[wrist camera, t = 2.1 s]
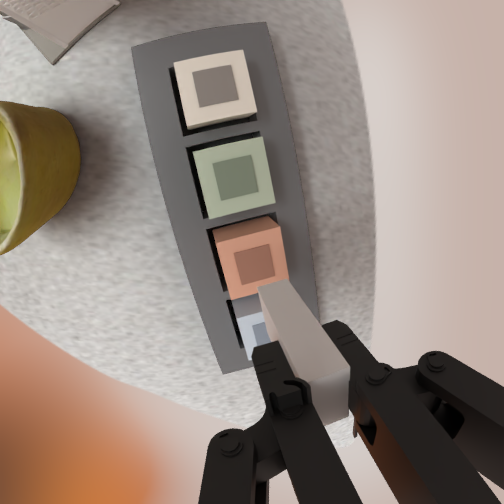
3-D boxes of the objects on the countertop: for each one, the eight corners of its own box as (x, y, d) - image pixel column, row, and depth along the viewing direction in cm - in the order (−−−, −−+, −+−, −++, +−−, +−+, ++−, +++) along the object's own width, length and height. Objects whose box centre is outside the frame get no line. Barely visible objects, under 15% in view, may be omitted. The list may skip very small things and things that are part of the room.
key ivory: (176, 75, 16) (173, 62, 13) (235, 63, 16) (243, 48, 13) (188, 130, 17) (186, 126, 15) (247, 117, 18) (257, 111, 15)
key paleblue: (230, 297, 22) (236, 319, 19) (280, 283, 22) (293, 303, 20) (242, 337, 24) (249, 361, 21) (288, 324, 24) (299, 346, 21)
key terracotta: (212, 229, 20) (215, 243, 17) (268, 215, 20) (280, 226, 18) (225, 280, 21) (231, 301, 19) (277, 266, 22) (290, 284, 19)
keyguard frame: (137, 58, 16) (131, 47, 14) (258, 34, 17) (266, 21, 15) (219, 356, 26) (223, 374, 23) (311, 329, 27) (321, 344, 24)
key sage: (193, 151, 18) (192, 151, 15) (252, 138, 18) (263, 136, 16) (207, 209, 19) (209, 219, 17) (263, 195, 20) (276, 203, 17)
